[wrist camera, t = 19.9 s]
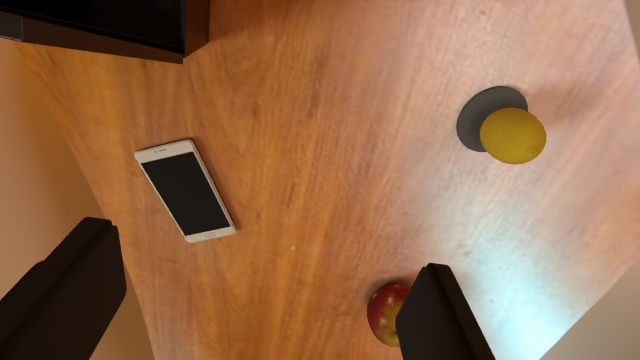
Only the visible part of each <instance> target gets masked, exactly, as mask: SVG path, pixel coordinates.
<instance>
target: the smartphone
mask: <svg viewBox="0 0 640 360" xmlns="http://www.w3.org/2000/svg"><path fill="white" fill-rule="evenodd" d="M134 157H135V158H136V160H137V161H138V163H139V165H140V166H141V168H142V170H143V171H144V173H145V174H146V176H147V178H148V179H149V181H150V182H151V184H152V186H153V187H154V189H155V191H156V192H157V194H158V195H159V197H160V199H161V200H162V202H163V203H164V205H165V207H166V208H167V210H168V212H169V213H170V215H171V216H172V218H173V220H174V221H175V223H176V225H177V226H178V228H179V229H180V231H181V233H182V234H183V236H184V237H185V239H186V241H187V242H189V243H193V242H198V241H203V240H207V239H212V238H217V237H222V236H227V235H232V234H235V233H236V228H235V226H234V224H233V222H232V220H231V218H230V216H229V214H228V212H227V209H226V207H225V205H224V203H223V201H222V199H221V197H220V195H219V193H218V191H217V189H216V187H215V185H214V182H213V180H212V178H211V177H210V174H209V172H208V170H207V168H206V166H205V164H204V162H203V161H202V159H201V157H200V155H199V153H198V151H197V149H196V147H195V145H194V143H193V141H192V140H189V139H186V140H182V141H178V142H174V143H169V144H165V145H161V146H157V147H153V148H148V149H144V150H141V151H136V152H135V153H134Z"/></svg>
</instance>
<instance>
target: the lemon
mask: <svg viewBox="0 0 640 360" xmlns="http://www.w3.org/2000/svg"><path fill="white" fill-rule="evenodd" d="M480 140H481V142H482V145H483V147H484V148H485V150H486V151H487V152H488V153H489V154H490V155H491V156H493V157H494V158H496V159H497V160H499V161H501V162H504V163H508V164H523V163H526V162H529V161H531V160H533V159H534V158H536V157H537V156H538V155H539V154H540V153H541V152H542V150H543V148H544V146H545V143H546V132H545V130H544V127H543V125H542V124H541V122H540V121H539V120H538V119H537V118H536V117H535V116H534V115H532V114H531V113H529V112H527V111H525V110H522V109H518V108H503V109H500V110H497V111H495V112H493V113H492V114H490V115H489V116H488V117H487V118H486V119H485V120H484V122H483V124H482V126H481V129H480Z"/></svg>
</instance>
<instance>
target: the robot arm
mask: <svg viewBox="0 0 640 360" xmlns="http://www.w3.org/2000/svg"><path fill="white" fill-rule="evenodd" d="M126 290H127V287H126V280H125V273H124V266H123V260H122V253H121V246H120V240H119V233H118V228H117V226H114V225H112V222H111V221H110V220H108V219H100V218H92V217H86V218H84V219H83V220H81V222H80V223H79V224H78V225H77V226H76V227H75V228H74V229H73V230H72V231H71V232H70V233H69V234H68V236H66V238H65V239H64V240H63V241H62V242H61V243H60V244H59V245H58V246H57V247H56V248H55V249H54V250H53V251H52V253H51V254H50V255H49V256H48V257H47V258H46V259H45V260H44V261H41V262H38V263H37V264H35V265H34V266H33V267H32V268H31V269H30V270H29V271H28V272H27V273H26V274H25V275H24V276H23V277H22V278H21V279H20V280H19V281H18V282H17V283H16V285H15V286H14V287H13V288H12V289H11V290H10V291H9V292H8V293H7V294H6V295H5V296H4V297H3V298H2V299H1V300H0V360H89V358H90V357H91V355H92V353H93V352H94V350H95V348H96V346H97V345H98V343H99V341H100V339H101V338H102V336H103V334H104V333H105V331H106V329H107V327H108V326H109V324H110V322H111V320H112V319H113V317H114V315H115V313H116V312H117V310H118V308H119V307H120V305H121V303H122V301H123V299H124V297H125V294H126ZM395 328H396V332H397V336H398V340H399V344H400V348H401V352H402V356H403V360H496V359H495V357H494V355H493V353H492V351H491V349H490V347H489V345H488V343H487V341H486V339H485V337H484V335H483V333H482V331H481V329H480V327H479V325H478V323H477V321H476V319H475V317H474V315H473V313H472V311H471V309H470V307H469V305H468V303H467V301H466V299H465V297H464V295H463V292H462V290H461V288H460V286H459V284H458V282H457V280H456V278H455V276H454V274H453V272H452V270H451V268H450V267H449V266H448V265H443V264H435V263H429V264H428V265H427V266H426V267H422V269H421V271H420V272H419V274H418V276H417V278H416V280H415V282H414V284H413V286H412V287H411V289H410V291H409V293H408V295H407V297H406V299H405V300H404V302H403V304H402V306H401V308H400V310H399V312H398V314H397V315H396V318H395Z"/></svg>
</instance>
